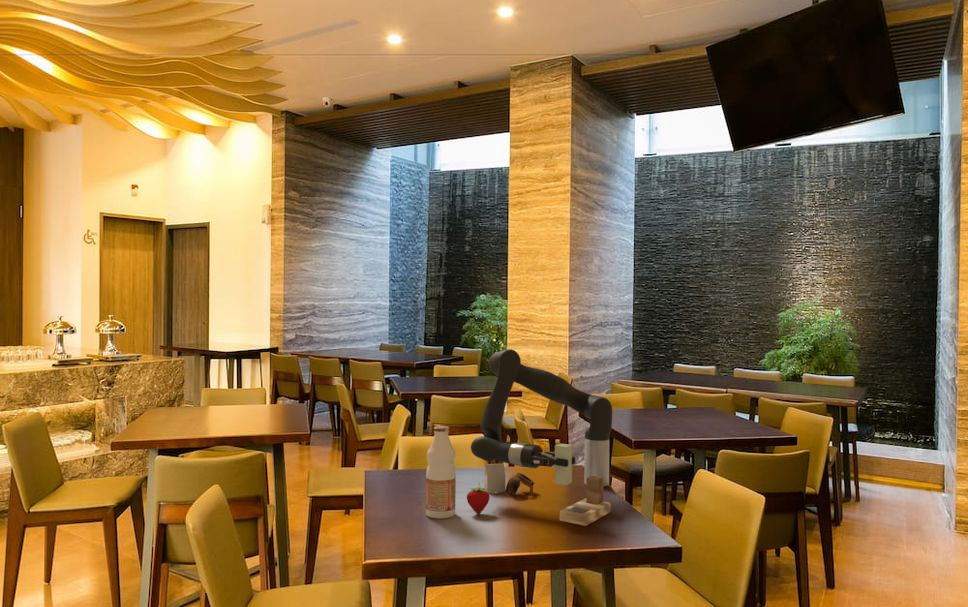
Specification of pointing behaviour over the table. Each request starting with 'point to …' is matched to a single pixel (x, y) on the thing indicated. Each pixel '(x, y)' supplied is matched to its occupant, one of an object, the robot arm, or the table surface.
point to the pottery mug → (518, 483)
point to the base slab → (588, 505)
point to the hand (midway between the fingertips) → (571, 462)
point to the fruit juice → (440, 476)
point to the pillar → (563, 473)
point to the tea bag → (494, 478)
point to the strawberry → (478, 499)
